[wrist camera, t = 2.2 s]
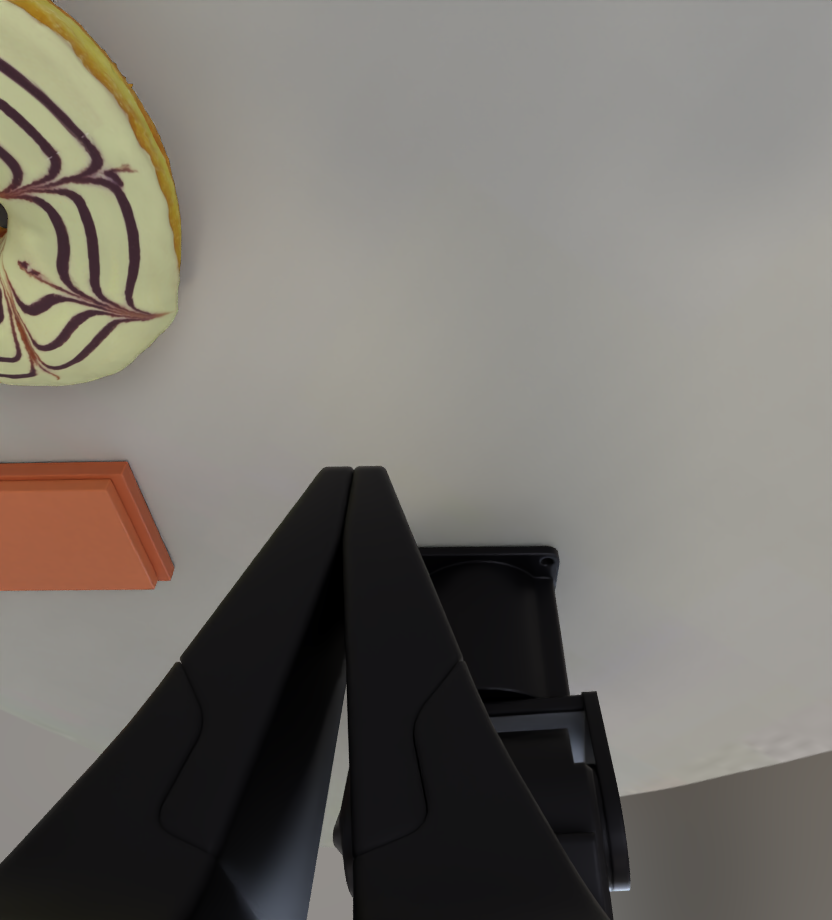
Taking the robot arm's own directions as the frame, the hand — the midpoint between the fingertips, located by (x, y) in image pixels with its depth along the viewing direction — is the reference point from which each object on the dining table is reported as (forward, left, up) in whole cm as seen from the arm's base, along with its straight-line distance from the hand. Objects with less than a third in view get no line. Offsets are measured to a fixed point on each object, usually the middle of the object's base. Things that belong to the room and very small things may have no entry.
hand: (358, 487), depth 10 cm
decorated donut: (+10, 0, -12) cm, 16 cm away
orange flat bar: (+17, +14, -12) cm, 25 cm away
